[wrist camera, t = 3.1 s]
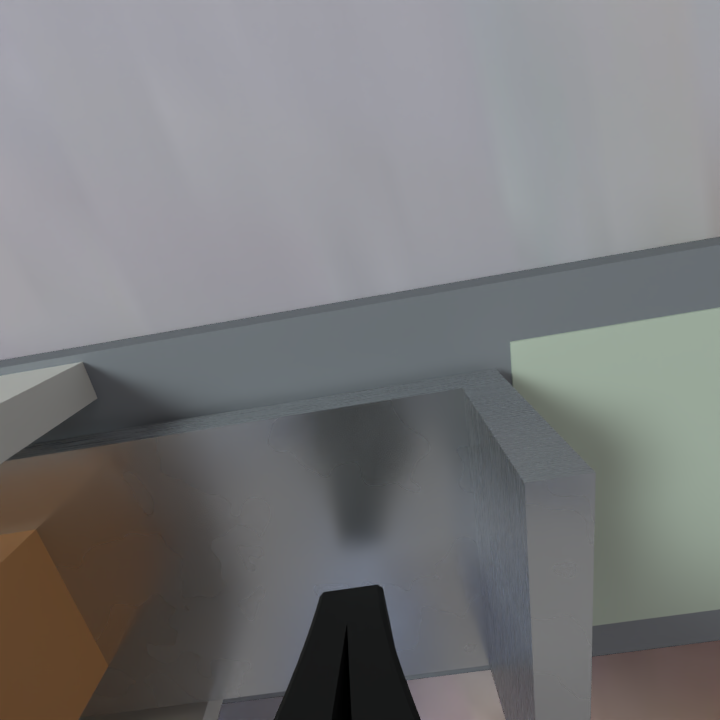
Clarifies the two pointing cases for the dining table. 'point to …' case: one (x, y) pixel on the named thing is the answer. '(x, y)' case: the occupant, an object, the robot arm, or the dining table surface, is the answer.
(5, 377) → the tunnel
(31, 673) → the block
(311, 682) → the robot arm
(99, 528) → the sled
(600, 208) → the dining table surface
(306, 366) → the track base
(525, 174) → the dining table surface
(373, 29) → the dining table surface
